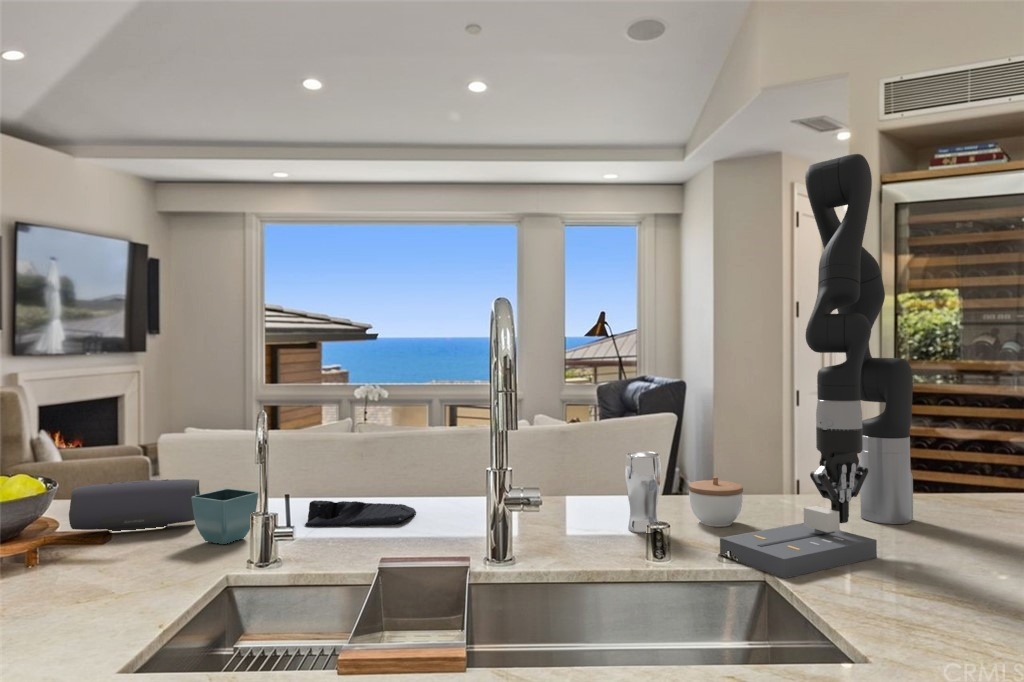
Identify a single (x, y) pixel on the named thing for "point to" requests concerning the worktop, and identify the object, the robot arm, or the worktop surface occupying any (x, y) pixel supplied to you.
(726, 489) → the lidded jar
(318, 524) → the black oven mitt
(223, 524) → the flower pot
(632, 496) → the beer glass
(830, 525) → the fader knob
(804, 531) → the panel
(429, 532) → the worktop surface
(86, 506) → the bluetooth speaker
